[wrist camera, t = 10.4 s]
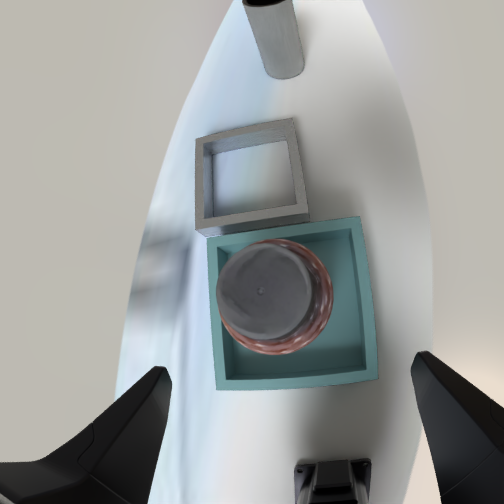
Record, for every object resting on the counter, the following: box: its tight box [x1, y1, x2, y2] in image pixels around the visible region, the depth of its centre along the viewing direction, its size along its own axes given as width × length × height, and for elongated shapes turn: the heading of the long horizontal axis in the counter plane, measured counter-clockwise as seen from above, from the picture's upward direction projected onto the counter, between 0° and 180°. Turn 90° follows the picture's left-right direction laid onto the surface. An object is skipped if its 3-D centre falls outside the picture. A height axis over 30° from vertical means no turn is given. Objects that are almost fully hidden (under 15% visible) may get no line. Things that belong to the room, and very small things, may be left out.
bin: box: [207, 216, 378, 390], centre depth 21 cm, size 12×12×3 cm
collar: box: [195, 118, 310, 237], centre depth 25 cm, size 9×9×2 cm
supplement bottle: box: [216, 239, 334, 355], centre depth 17 cm, size 6×6×11 cm
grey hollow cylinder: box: [242, 0, 304, 79], centre depth 24 cm, size 4×4×10 cm
